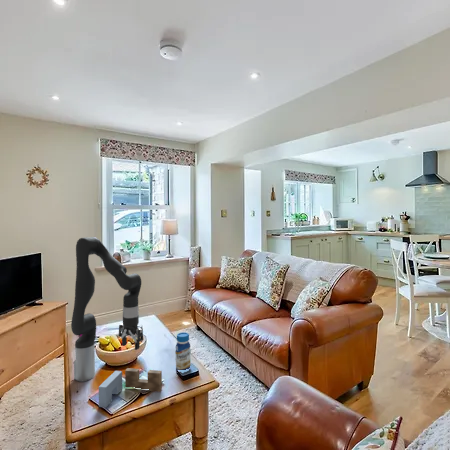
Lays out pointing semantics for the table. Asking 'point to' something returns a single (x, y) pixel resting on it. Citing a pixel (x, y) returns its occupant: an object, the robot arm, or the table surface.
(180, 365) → the beverage bottle
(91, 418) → the table surface
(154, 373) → the u-shaped brown bracket
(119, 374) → the grey block
